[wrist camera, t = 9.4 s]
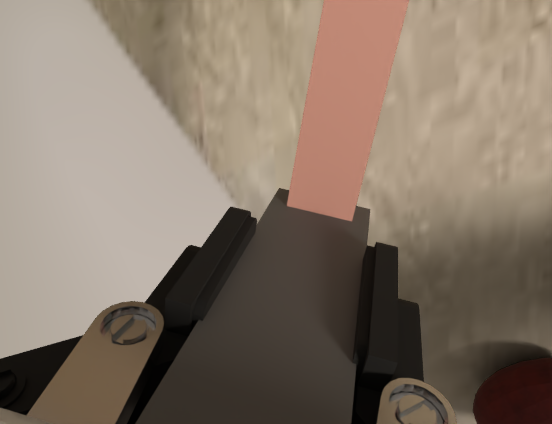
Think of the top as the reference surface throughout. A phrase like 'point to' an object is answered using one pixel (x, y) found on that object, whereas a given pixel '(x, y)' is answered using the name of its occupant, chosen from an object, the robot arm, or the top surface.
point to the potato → (516, 395)
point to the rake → (297, 255)
